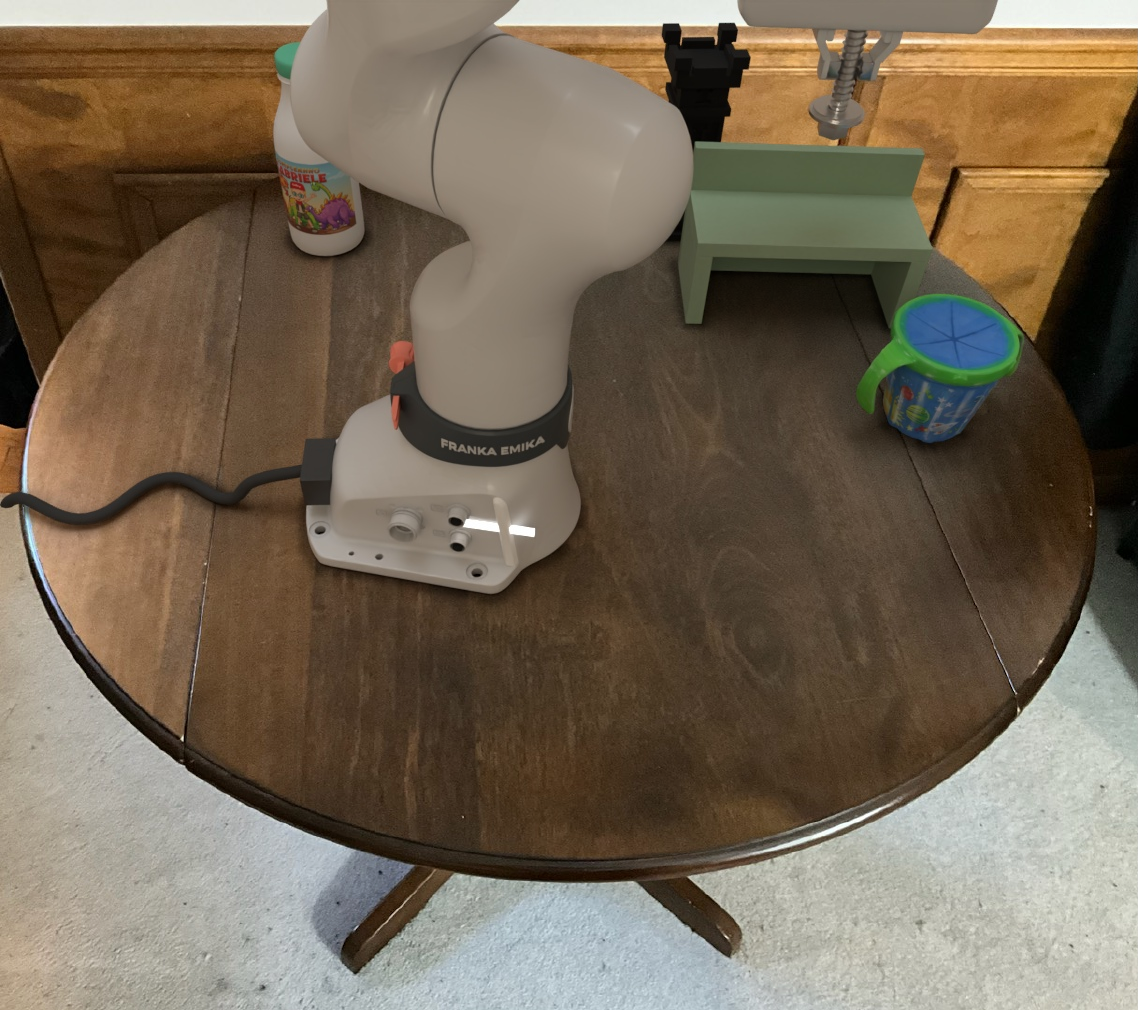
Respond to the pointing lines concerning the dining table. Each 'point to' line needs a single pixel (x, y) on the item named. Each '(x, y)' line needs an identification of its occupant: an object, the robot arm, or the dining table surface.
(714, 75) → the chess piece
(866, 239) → the shelf
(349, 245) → the milk bottle
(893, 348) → the snack cup
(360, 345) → the dining table surface
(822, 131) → the screw
